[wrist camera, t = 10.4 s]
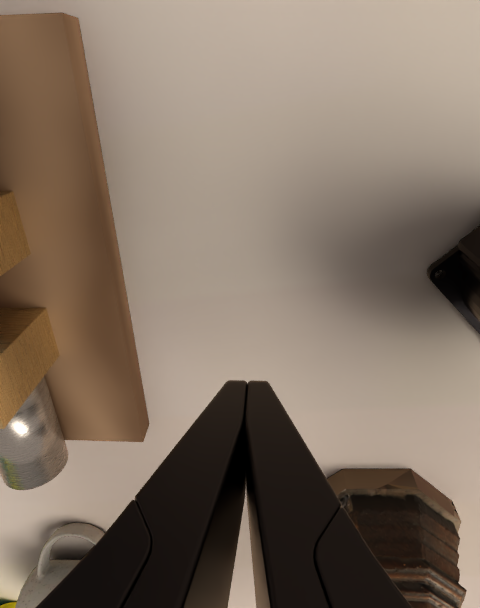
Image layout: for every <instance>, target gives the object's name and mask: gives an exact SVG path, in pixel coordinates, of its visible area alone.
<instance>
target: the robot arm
mask: <svg viewBox="0 0 480 608" xmlns="http://www.w3.org/2000/svg"><path fill="white" fill-rule="evenodd" d="M439 270H443V272H442V274H441V275H439V276H435V273H436V272H437V271H439ZM427 276H428V278H429V279H430V280H431V281H432V282H433V284H434V285H435V286H436V287H437V288H438V289H439V290H440V291H441V292H442V293H443V294H444V296H445V297H446V298H447V299H448V300H449V301H450V302H451V303H452V304H453V305H454V306H455V308H456V309H457V310H458V311H459V312H460V313H461V314H462V315H463V316H464V317H465V318H466V319H467V321H468V322H469V323H470V324H471V325H472V326H473V327H474V328H475V329H476V330H477V331H478V333H479V334H480V226H479V227H477V228H476V229H475V230H473V231H472V232H471V233H470V234H468V235H467V236H466V237H464V238H463V239H462V240H460V242H459V244H458V245H457V246H456V247H455V248H453V249H452V250H451V251H449V252H448V253H447V254H445V255H444V256H443V257H441V258H440V259H439V260H437V261H436V262H435V263H433V264H432V265H431V266H430V267H429V268H428V271H427ZM245 490H246V491H247V506H248V517H249V529H250V540H251V551H252V563H253V574H254V585H255V596H256V608H412V606H411V605H410V604H409V602H408V601H407V600H406V598H405V597H404V596H403V594H402V593H401V592H400V590H399V589H398V588H397V586H396V585H395V584H394V582H393V581H392V580H391V578H390V577H389V575H388V574H387V573H386V571H385V570H384V569H383V567H382V566H381V564H380V563H379V562H378V560H377V559H376V558H375V556H374V555H373V553H372V552H371V550H370V548H369V547H368V545H367V544H366V542H365V541H364V539H363V538H362V536H361V534H360V533H359V531H358V530H357V528H356V527H355V525H354V523H353V522H352V520H351V518H350V517H349V515H348V513H347V512H346V510H345V509H344V508H343V507H342V504H341V502H340V500H339V499H338V497H337V495H336V494H335V492H334V490H333V489H332V487H331V485H330V484H329V482H328V480H327V479H326V477H325V475H324V474H323V472H322V470H321V469H320V467H319V465H318V464H317V462H316V461H315V459H314V457H313V456H312V454H311V452H310V451H309V449H308V447H307V446H306V444H305V442H304V441H303V439H302V437H301V436H300V434H299V432H298V431H297V429H296V427H295V426H294V424H293V422H292V421H291V419H290V417H289V416H288V414H287V412H286V411H285V409H284V407H283V406H282V404H281V402H280V401H279V399H278V397H277V396H276V394H275V392H274V391H273V389H272V387H271V386H270V384H269V383H268V382H267V381H249V382H248V384H247V382H246V381H239V380H230V381H227V382H226V383H225V384H224V386H223V387H222V388H221V389H220V391H219V392H218V393H217V395H216V396H215V397H214V398H213V400H212V401H211V402H210V403H209V405H208V406H207V407H206V408H205V410H204V411H203V412H202V413H201V415H200V416H199V417H198V418H197V420H196V421H195V422H194V423H193V425H192V426H191V427H190V428H189V430H188V431H187V432H186V433H185V435H184V436H183V437H182V438H181V440H180V441H179V442H178V443H177V445H176V446H175V447H174V449H173V450H172V451H171V452H170V454H169V455H168V456H167V457H166V459H165V460H164V461H163V462H162V464H161V465H160V466H159V467H158V469H157V470H156V471H155V472H154V474H153V475H152V476H151V477H150V479H149V480H148V481H147V482H146V484H145V485H144V486H143V487H142V489H141V490H140V491H139V492H138V494H137V495H136V496H135V500H132V501H131V502H130V503H129V505H128V506H127V507H126V509H125V510H124V511H123V512H122V514H121V515H120V516H119V517H118V519H117V520H116V521H115V522H114V523H113V524H112V526H111V527H110V528H109V529H108V530H107V532H106V533H105V534H104V535H103V536H102V538H101V539H100V540H99V541H98V542H97V543H96V545H95V546H94V547H93V548H92V549H91V550H90V551H89V552H88V553H87V554H86V555H85V556H84V557H83V558H82V560H81V561H80V562H79V563H78V564H77V565H76V566H75V567H74V568H73V569H72V570H71V571H70V572H69V573H68V574H67V576H66V577H65V578H64V579H63V580H62V581H61V582H60V583H59V584H58V585H57V586H56V587H55V588H54V589H53V590H52V591H51V592H50V593H49V594H48V595H47V596H46V597H45V598H44V599H43V600H42V601H41V602H40V603H39V604H38V605H37V606H36V607H35V608H227V607H228V600H229V594H230V588H231V581H232V575H233V569H234V562H235V556H236V550H237V543H238V537H239V531H240V524H241V518H242V512H243V505H244V498H245Z"/></svg>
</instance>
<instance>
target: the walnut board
mask: <svg viewBox="0 0 480 608" xmlns="http://www.w3.org/2000/svg"><path fill="white" fill-rule="evenodd" d="M1 191H13V192H14V196H15V199H16V203H17V207H18V210H19V214H20V217H21V221H22V224H23V228H24V231H25V235H26V238H27V242H28V245H29V249H30V252H31V254H30V255H29V256H27V257H26V258H24V259H23V260H22V261H20V262H19V263H18V264H16V265H15V266H14V267H12V268H11V269H10V270H8V271H7V272H5V273H4V274H3V275H1V276H0V308H46V309H47V312H48V316H49V319H50V323H51V327H52V330H53V334H54V337H55V341H56V344H57V348H58V351H59V355H60V356H59V357H58V358H57V360H56V361H55V362H54V364H53V365H52V366H51V368H50V369H49V370H48V371H47V373H46V374H45V375H44V377H45V380H46V383H47V387H48V390H49V393H50V396H51V399H52V402H53V406H54V409H55V412H56V415H57V418H58V422H59V425H60V428H61V431H62V434H63V437H64V440H92V441H128V442H143V441H144V438H145V435H146V432H147V429H148V426H149V420H148V414H147V409H146V403H145V397H144V391H143V386H142V380H141V374H140V369H139V363H138V357H137V351H136V346H135V340H134V334H133V329H132V323H131V317H130V311H129V306H128V300H127V294H126V288H125V283H124V277H123V271H122V266H121V260H120V254H119V248H118V243H117V237H116V231H115V226H114V220H113V214H112V208H111V203H110V197H109V191H108V186H107V180H106V174H105V168H104V163H103V157H102V151H101V146H100V140H99V134H98V128H97V123H96V117H95V111H94V106H93V100H92V94H91V88H90V83H89V77H88V71H87V66H86V60H85V54H84V48H83V43H82V37H81V31H80V25H79V20H78V18H76V17H73V16H70V15H67V14H64V13H44V14H20V15H0V192H1Z"/></svg>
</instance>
